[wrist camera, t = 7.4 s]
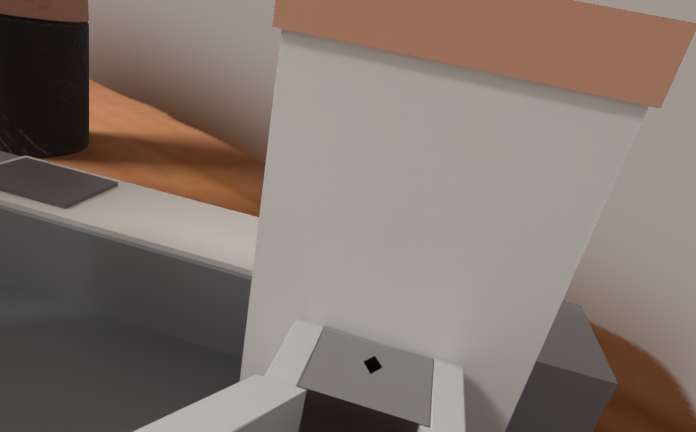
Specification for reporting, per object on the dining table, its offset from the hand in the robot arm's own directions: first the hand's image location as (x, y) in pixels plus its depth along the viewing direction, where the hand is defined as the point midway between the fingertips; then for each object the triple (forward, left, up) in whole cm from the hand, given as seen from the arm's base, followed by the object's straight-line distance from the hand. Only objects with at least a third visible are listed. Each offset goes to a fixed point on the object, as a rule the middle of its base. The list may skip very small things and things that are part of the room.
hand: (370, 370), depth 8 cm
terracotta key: (0, +1, -5) cm, 5 cm away
